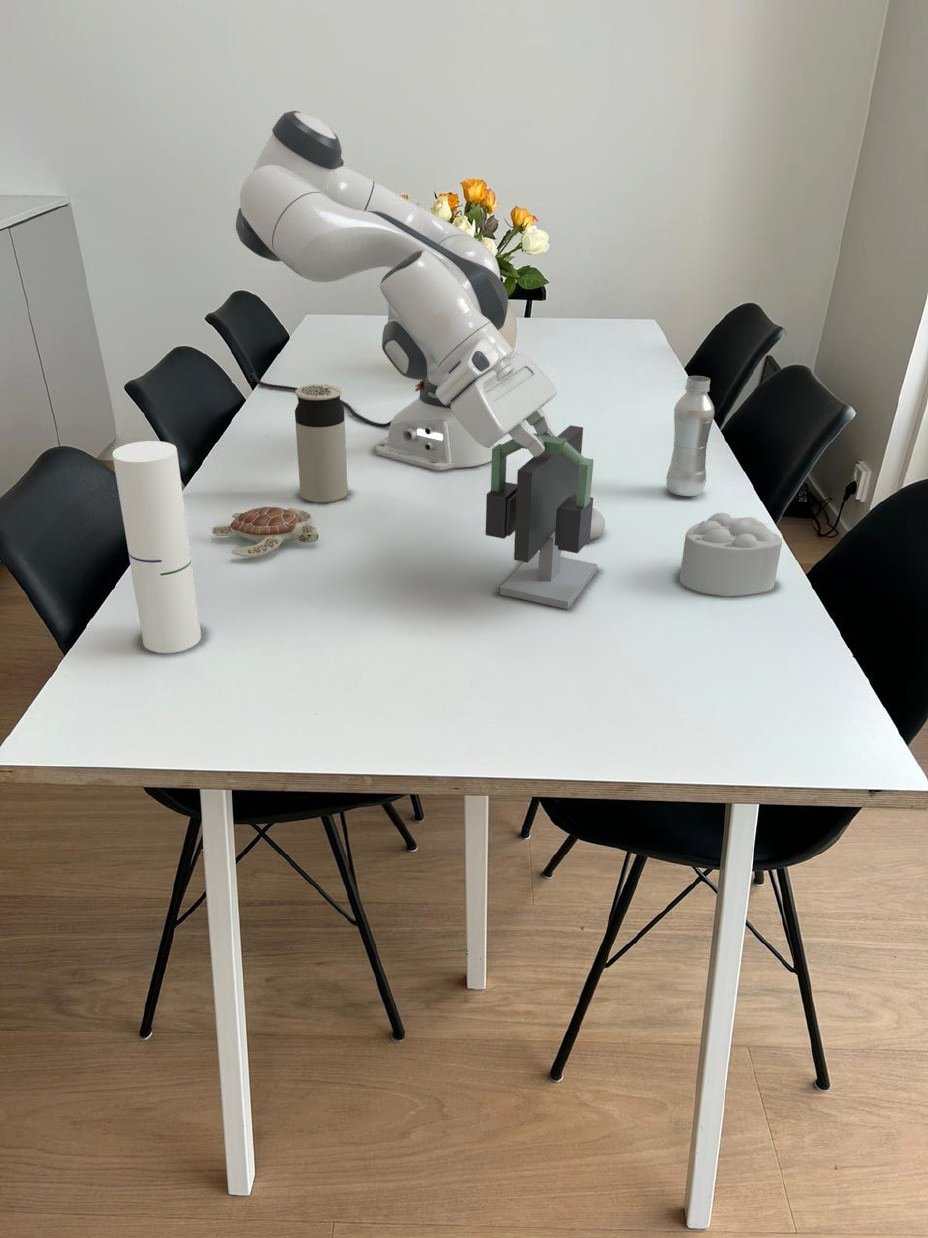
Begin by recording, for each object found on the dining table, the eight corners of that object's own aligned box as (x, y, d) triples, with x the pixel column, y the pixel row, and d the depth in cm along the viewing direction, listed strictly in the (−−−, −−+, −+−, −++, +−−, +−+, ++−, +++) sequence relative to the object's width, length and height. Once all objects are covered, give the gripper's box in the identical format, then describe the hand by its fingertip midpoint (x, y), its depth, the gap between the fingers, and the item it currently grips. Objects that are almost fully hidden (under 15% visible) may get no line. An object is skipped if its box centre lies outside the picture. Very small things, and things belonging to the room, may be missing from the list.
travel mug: (310, 507, 167) (303, 400, 158) (294, 490, 173) (286, 386, 164) (355, 499, 170) (350, 393, 161) (337, 483, 176) (332, 381, 168)
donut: (596, 550, 154) (610, 524, 162) (598, 529, 152) (612, 504, 161) (533, 540, 157) (549, 515, 165) (534, 520, 155) (551, 496, 163)
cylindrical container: (148, 625, 132) (119, 441, 120) (204, 624, 132) (181, 440, 120) (138, 654, 125) (106, 462, 113) (196, 652, 126) (171, 461, 114)
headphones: (485, 535, 137) (488, 435, 131) (499, 521, 142) (503, 424, 135) (577, 553, 133) (585, 451, 126) (590, 538, 137) (598, 439, 130)
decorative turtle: (289, 572, 146) (287, 540, 143) (190, 553, 151) (186, 522, 148) (345, 525, 161) (344, 495, 158) (253, 509, 166) (251, 480, 163)
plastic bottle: (704, 502, 171) (720, 385, 161) (663, 498, 172) (677, 382, 163) (704, 488, 177) (719, 374, 167) (664, 485, 178) (678, 372, 168)
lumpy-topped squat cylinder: (782, 590, 143) (792, 534, 139) (697, 600, 140) (705, 543, 136) (747, 559, 152) (755, 506, 147) (666, 568, 149) (673, 513, 145)
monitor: (489, 605, 138) (493, 466, 128) (541, 549, 154) (548, 421, 144) (558, 620, 134) (568, 479, 125) (604, 561, 150) (616, 432, 141)
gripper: (494, 359, 140) (557, 438, 141) (429, 399, 123) (500, 487, 125) (526, 330, 136) (590, 411, 137) (463, 367, 120) (536, 458, 121)
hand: (547, 448), depth 131 cm, fingers closed on headphones, 2 cm apart
